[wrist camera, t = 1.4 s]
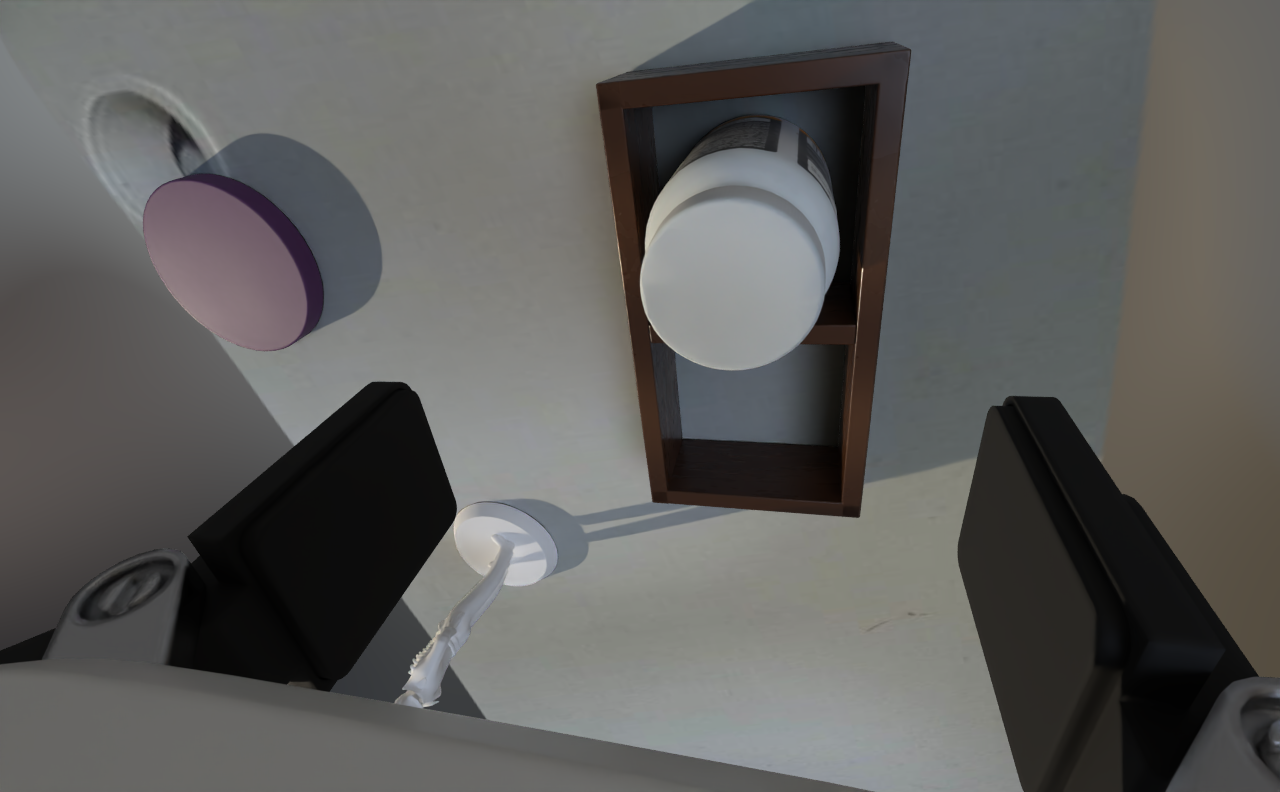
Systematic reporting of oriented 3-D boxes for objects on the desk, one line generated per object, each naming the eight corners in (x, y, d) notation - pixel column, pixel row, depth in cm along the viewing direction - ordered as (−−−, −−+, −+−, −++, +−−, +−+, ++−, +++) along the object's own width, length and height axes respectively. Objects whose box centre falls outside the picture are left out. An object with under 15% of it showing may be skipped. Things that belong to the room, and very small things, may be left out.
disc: (130, 179, 30) (107, 185, 29) (277, 166, 27) (257, 173, 26) (218, 341, 34) (200, 351, 33) (349, 342, 32) (335, 352, 31)
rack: (627, 71, 22) (595, 83, 19) (894, 41, 19) (911, 48, 16) (668, 450, 31) (652, 502, 28) (854, 460, 29) (859, 518, 25)
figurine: (461, 485, 36) (333, 663, 26) (569, 531, 36) (481, 726, 26) (447, 555, 40) (331, 731, 30) (544, 596, 40) (459, 786, 30)
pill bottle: (666, 239, 25) (598, 353, 17) (705, 91, 22) (643, 143, 13) (798, 280, 24) (793, 416, 16) (858, 135, 21) (889, 216, 13)
